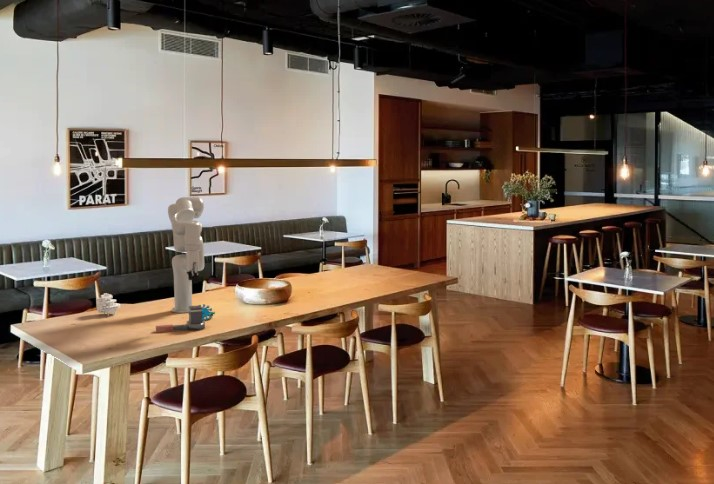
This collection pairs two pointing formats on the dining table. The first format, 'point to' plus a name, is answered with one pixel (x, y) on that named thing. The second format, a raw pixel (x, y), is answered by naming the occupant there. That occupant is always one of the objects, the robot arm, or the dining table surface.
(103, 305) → the mechanical part
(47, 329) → the dining table surface
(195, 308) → the socket
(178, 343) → the dining table surface
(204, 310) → the blue spiky virus model
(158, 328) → the ratchet
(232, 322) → the dining table surface
